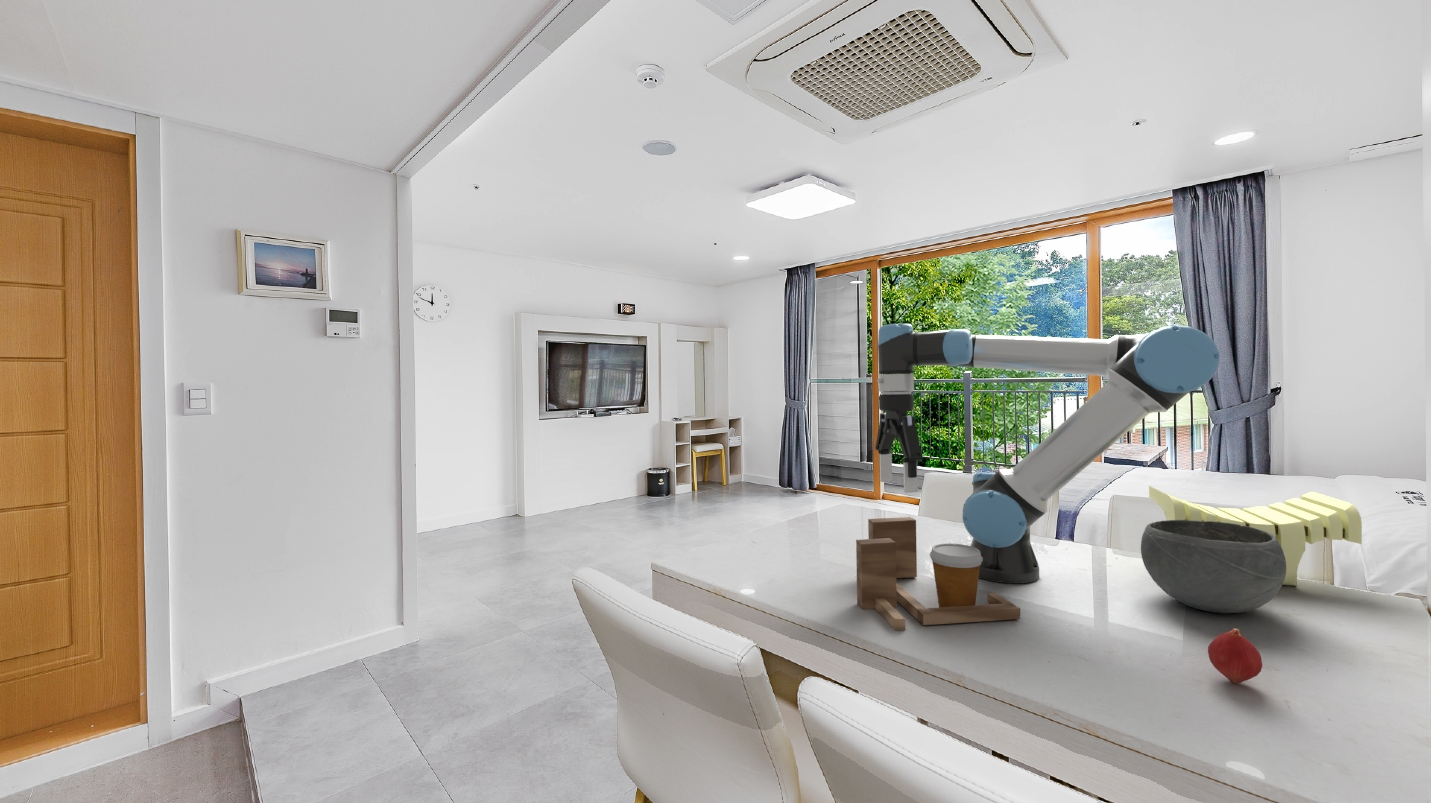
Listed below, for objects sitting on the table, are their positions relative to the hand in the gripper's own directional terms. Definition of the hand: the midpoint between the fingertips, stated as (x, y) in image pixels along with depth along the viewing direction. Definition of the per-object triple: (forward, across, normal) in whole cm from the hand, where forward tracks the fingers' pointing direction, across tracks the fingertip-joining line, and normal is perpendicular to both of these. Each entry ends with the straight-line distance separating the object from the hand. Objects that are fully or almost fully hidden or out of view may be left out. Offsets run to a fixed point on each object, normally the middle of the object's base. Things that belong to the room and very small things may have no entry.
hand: (897, 486), depth 129 cm
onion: (+21, +50, +29) cm, 62 cm away
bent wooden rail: (+20, +12, +3) cm, 24 cm away
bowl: (+21, +25, +51) cm, 61 cm away
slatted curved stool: (+21, +11, +74) cm, 78 cm away
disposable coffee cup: (+21, +20, +3) cm, 29 cm away
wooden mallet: (+21, +20, -11) cm, 31 cm away
